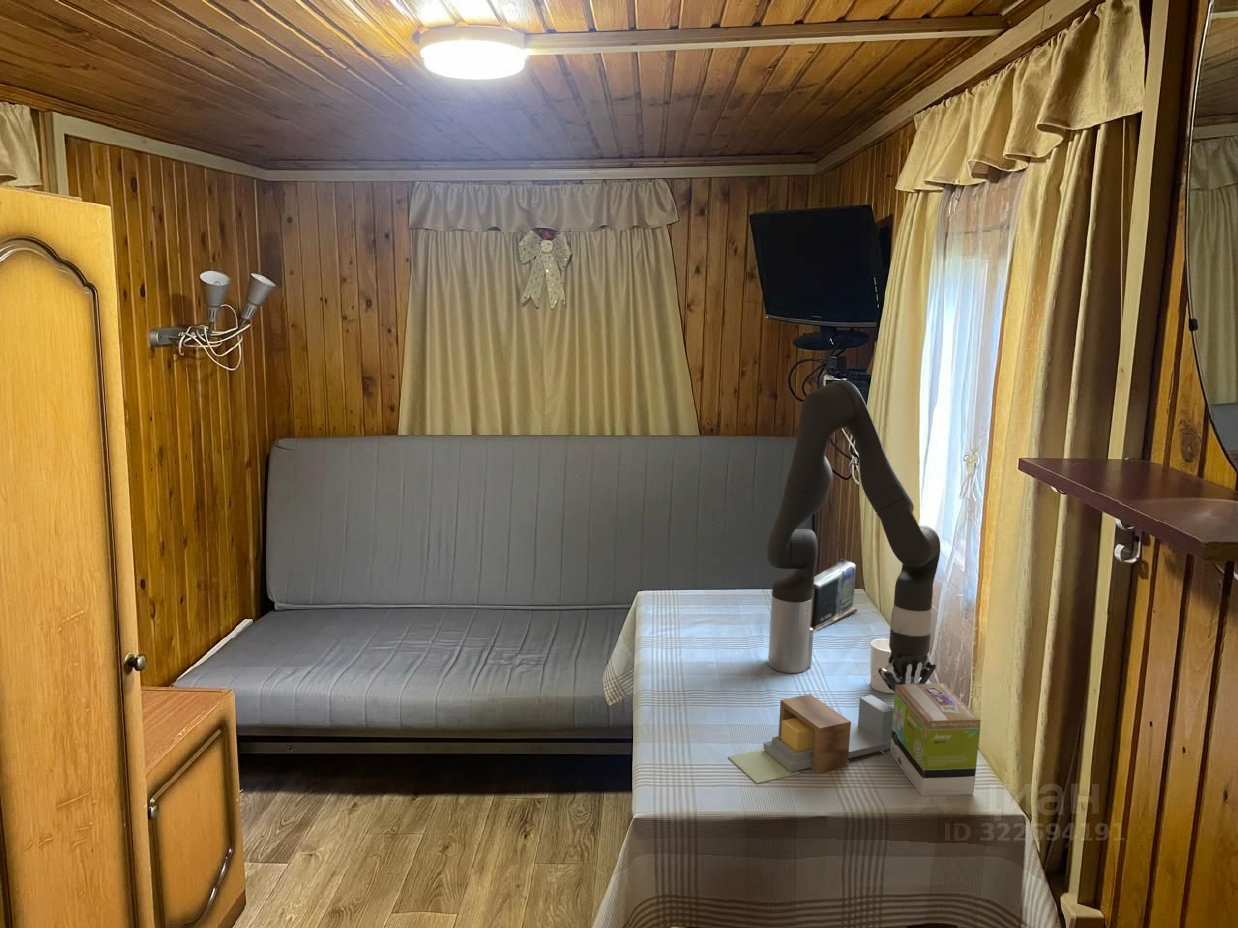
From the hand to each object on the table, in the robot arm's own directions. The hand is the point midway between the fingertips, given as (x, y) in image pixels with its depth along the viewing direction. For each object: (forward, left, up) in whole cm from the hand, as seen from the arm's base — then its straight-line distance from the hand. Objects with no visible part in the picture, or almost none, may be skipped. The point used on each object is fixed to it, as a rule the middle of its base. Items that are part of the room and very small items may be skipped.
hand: (903, 710), depth 176 cm
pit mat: (+13, 0, -5) cm, 14 cm away
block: (+25, 0, -4) cm, 25 cm away
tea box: (+6, +14, -6) cm, 16 cm away
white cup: (-12, -19, -6) cm, 24 cm away
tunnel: (+22, 0, -5) cm, 22 cm away
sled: (+17, 0, -5) cm, 18 cm away
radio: (-27, -59, -6) cm, 65 cm away
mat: (+33, 0, -5) cm, 33 cm away
